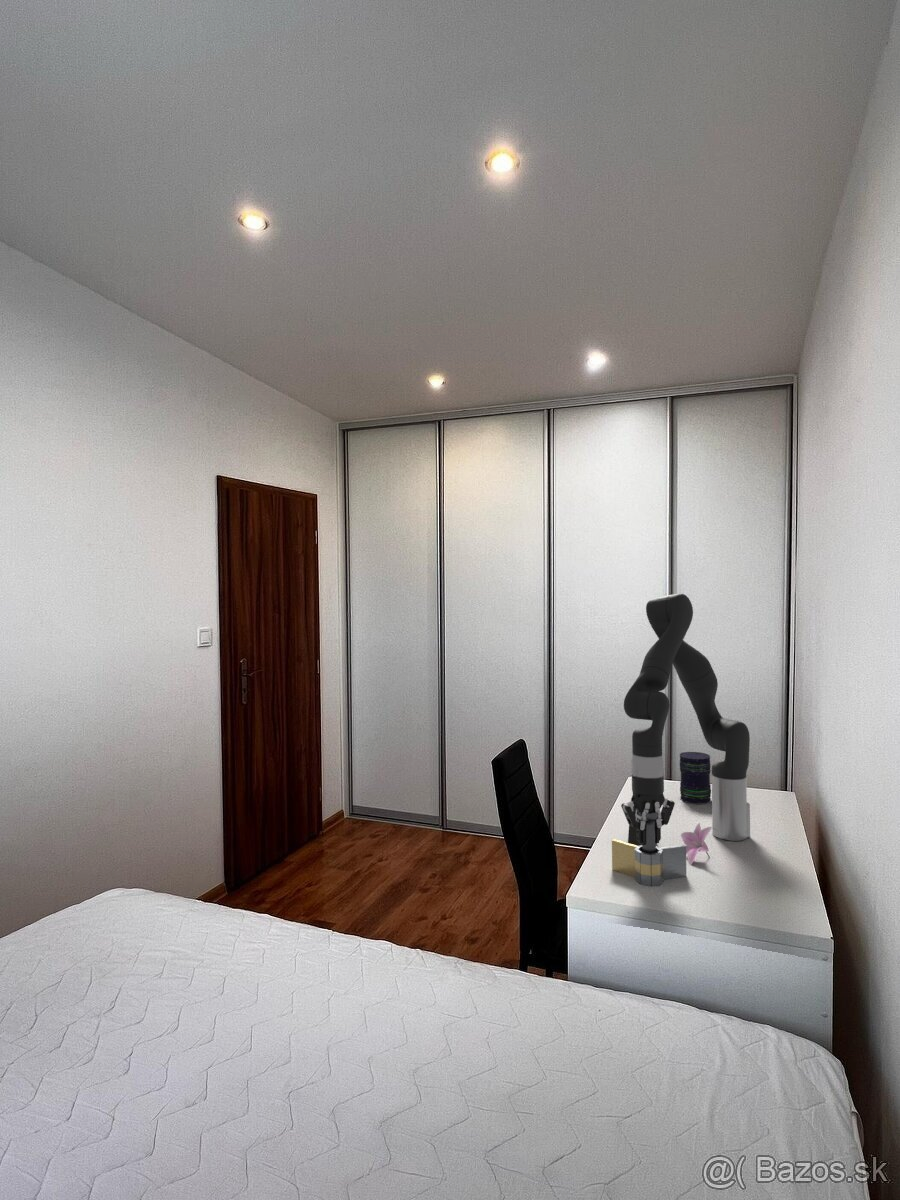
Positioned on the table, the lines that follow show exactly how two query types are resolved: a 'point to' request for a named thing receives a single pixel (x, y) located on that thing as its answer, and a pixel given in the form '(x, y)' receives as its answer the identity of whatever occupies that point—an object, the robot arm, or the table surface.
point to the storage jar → (695, 777)
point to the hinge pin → (650, 833)
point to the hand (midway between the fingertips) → (648, 842)
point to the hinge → (649, 862)
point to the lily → (695, 842)
